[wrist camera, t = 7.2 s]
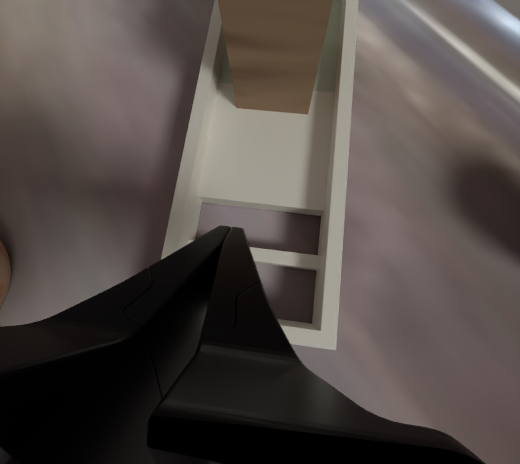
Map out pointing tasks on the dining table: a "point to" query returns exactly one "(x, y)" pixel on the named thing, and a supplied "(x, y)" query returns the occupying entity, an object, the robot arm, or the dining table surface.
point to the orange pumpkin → (4, 273)
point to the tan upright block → (274, 51)
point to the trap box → (275, 163)
